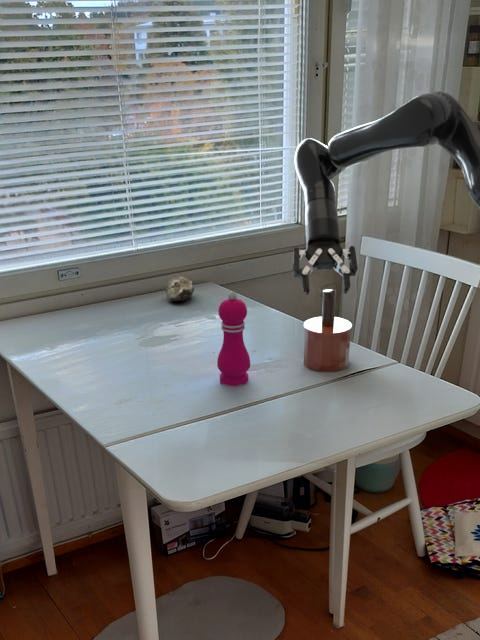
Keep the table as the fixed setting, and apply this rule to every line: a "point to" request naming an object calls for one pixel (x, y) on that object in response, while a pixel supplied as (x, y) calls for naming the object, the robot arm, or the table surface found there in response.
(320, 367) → the pot
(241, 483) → the table surface
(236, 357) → the pepper mill
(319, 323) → the lid
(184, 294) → the fossilized seashell
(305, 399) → the table surface
